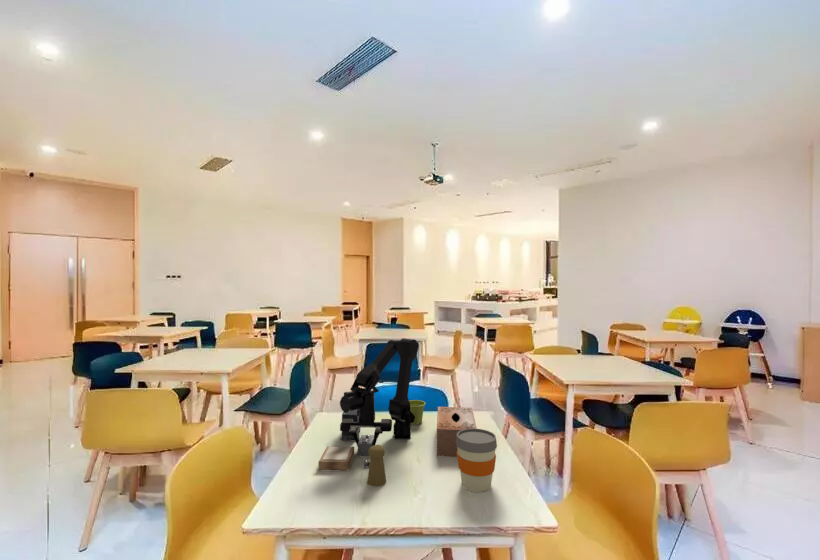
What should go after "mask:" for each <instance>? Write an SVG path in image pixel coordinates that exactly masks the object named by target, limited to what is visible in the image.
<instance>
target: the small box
mask: <svg viewBox="0 0 820 560" xmlns="http://www.w3.org/2000/svg"><path fill="white" fill-rule="evenodd" d="M343 419H353V422H359V416H357V410H353V411H350V412H347V413H345V412H343V411H342V414H341V421H342V420H343ZM360 433H361V427H359V434H360ZM340 440H341V441H354V442H355V439H354V437H353V436H352V434H350V433H349V431H341V439H340Z"/></svg>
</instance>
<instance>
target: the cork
mask: <svg viewBox="0 0 820 560" xmlns="http://www.w3.org/2000/svg"><path fill="white" fill-rule="evenodd" d="M385 454H386V450H385V447H384V446H383V445H380V444H375V445H373V446H371V447H370V448H369V456H368V457H369V462H370V464H369V466H368V471H367V481H366V483H367V485H368V486H370V487H374V488H378V487H382V486H384V485H386V483H387V476H386V474H387V473H386V467H385V461H384V457H385Z"/></svg>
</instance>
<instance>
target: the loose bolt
mask: <svg viewBox="0 0 820 560" xmlns="http://www.w3.org/2000/svg"><path fill="white" fill-rule="evenodd" d="M369 464H370V461H368V460H367V459H364V460H363V467H364V468H367V467H368V468H369Z"/></svg>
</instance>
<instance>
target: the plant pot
mask: <svg viewBox="0 0 820 560" xmlns="http://www.w3.org/2000/svg"><path fill="white" fill-rule="evenodd" d="M409 402H410V411H411V412H412V413H413V415H414V416H415V420H414V422H412V424H411V425H418V424H422V423H423V416H424V410H425V409H424V408H425V405H426V402H425V401H423V400H421V399H420V400H419V399H413V400H409Z"/></svg>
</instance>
